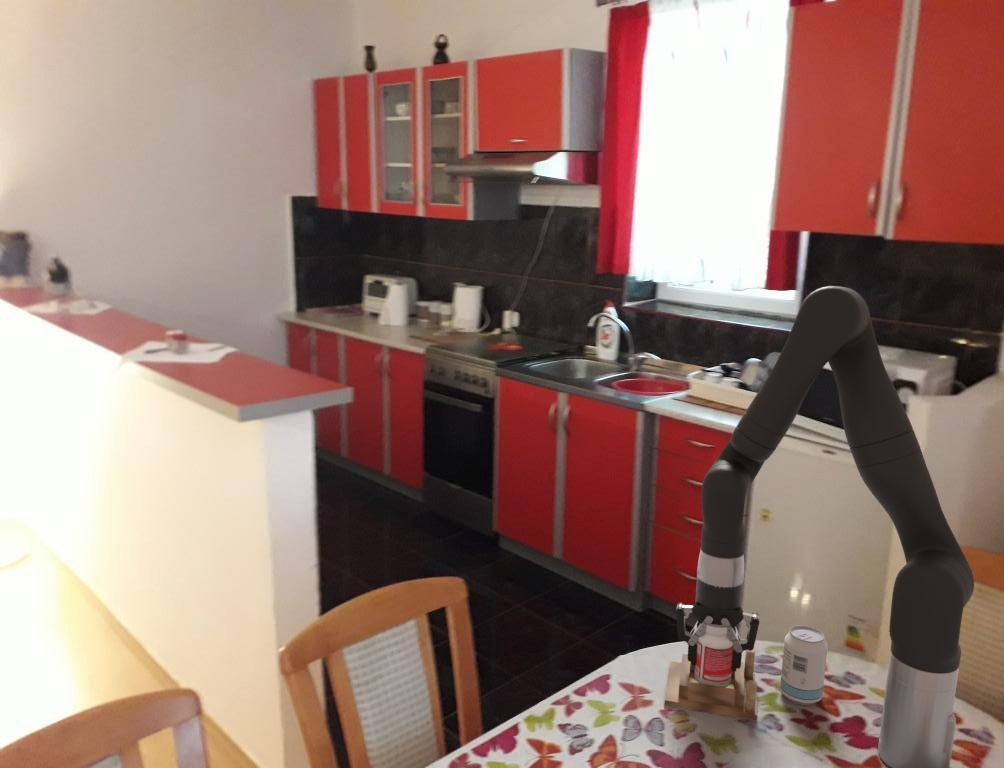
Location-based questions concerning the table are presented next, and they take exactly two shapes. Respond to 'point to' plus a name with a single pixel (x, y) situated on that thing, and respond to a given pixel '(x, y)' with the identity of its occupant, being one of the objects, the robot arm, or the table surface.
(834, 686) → the table surface
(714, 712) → the holder
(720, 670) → the pill bottle
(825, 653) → the beverage can
